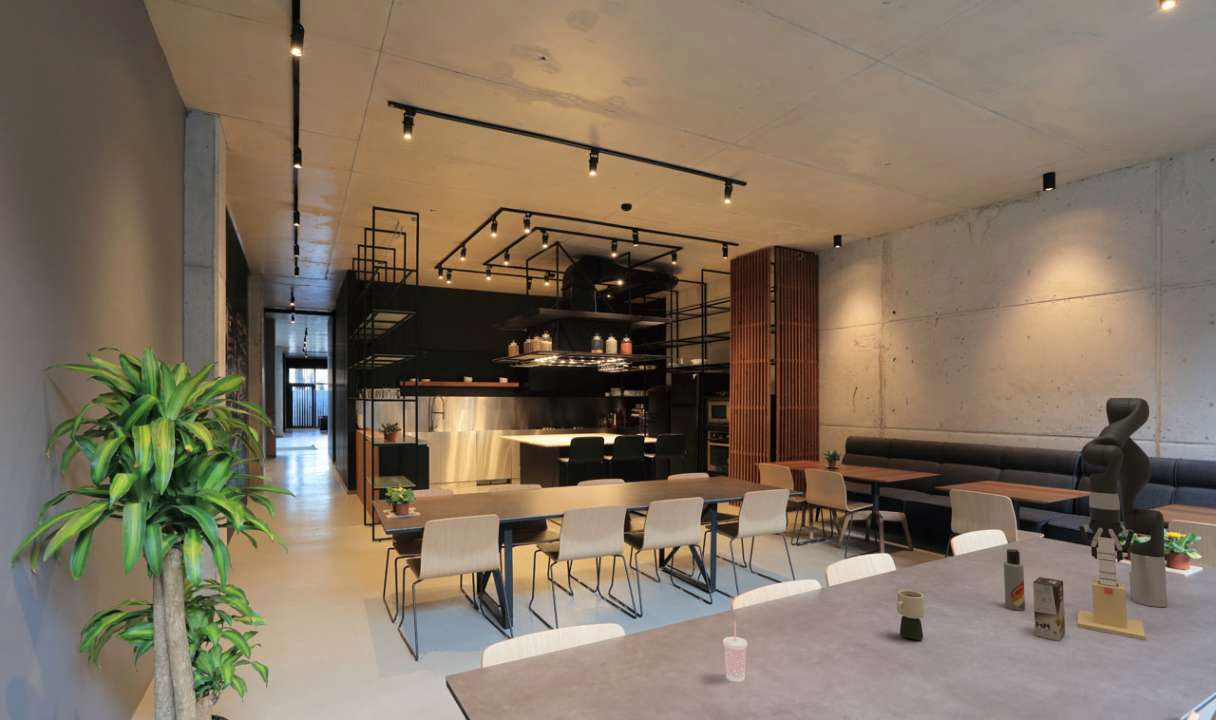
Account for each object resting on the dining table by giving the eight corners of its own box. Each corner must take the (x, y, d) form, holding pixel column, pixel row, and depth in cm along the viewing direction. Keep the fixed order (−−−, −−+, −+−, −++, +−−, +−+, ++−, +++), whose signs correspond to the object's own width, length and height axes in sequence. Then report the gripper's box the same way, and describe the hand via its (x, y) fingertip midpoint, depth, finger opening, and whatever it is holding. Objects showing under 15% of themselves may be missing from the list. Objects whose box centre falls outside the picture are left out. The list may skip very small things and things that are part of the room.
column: (1100, 597, 193) (1097, 534, 195) (1117, 599, 191) (1114, 536, 192) (1100, 600, 190) (1097, 536, 192) (1117, 603, 188) (1114, 538, 189)
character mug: (913, 630, 184) (912, 588, 185) (934, 639, 178) (933, 595, 179) (888, 636, 180) (887, 592, 181) (908, 645, 173) (907, 599, 174)
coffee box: (1060, 641, 177) (1058, 586, 178) (1034, 635, 181) (1032, 582, 183) (1065, 633, 183) (1063, 580, 184) (1040, 628, 188) (1038, 576, 189)
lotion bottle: (1028, 611, 202) (1026, 552, 204) (1009, 610, 204) (1007, 551, 205) (1020, 606, 208) (1018, 548, 209) (1002, 604, 209) (1000, 547, 211)
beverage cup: (720, 672, 154) (720, 617, 155) (743, 671, 155) (742, 616, 156) (727, 683, 148) (726, 626, 149) (751, 682, 149) (750, 625, 150)
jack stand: (1079, 613, 201) (1077, 573, 202) (1142, 625, 191) (1140, 583, 192) (1077, 627, 189) (1075, 584, 190) (1145, 640, 179) (1143, 595, 180)
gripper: (1133, 507, 191) (1136, 561, 190) (1076, 502, 200) (1079, 554, 199) (1134, 510, 185) (1137, 566, 184) (1076, 505, 194) (1078, 558, 193)
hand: (1107, 559), depth 191 cm, fingers open, 5 cm apart
